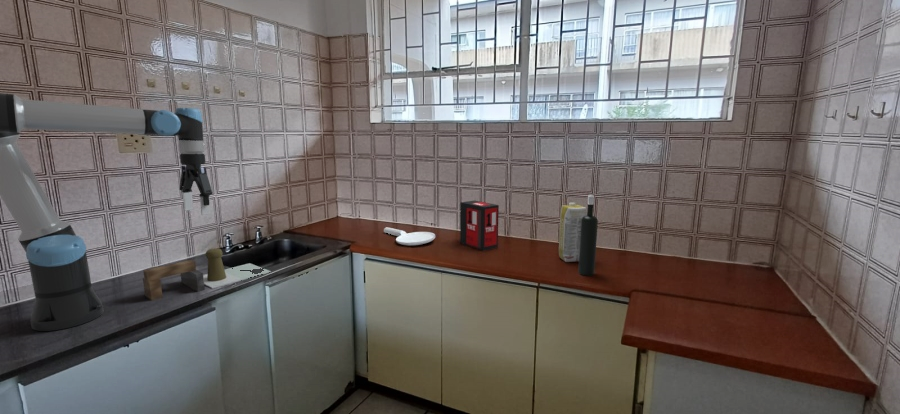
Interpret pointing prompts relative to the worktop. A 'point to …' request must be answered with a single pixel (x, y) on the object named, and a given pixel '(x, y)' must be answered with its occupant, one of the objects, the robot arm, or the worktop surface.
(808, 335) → the worktop surface
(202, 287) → the wooden arch block
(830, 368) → the worktop surface
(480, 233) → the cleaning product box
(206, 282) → the plate
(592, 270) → the wine bottle
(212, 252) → the cork
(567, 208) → the juice carton
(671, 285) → the worktop surface
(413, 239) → the frying pan
